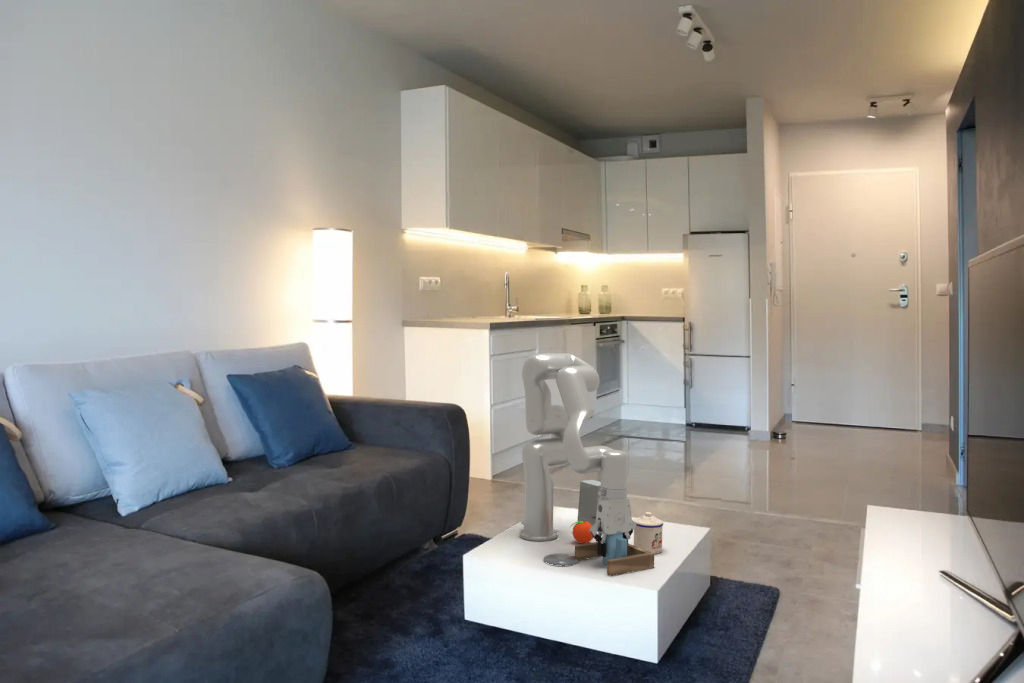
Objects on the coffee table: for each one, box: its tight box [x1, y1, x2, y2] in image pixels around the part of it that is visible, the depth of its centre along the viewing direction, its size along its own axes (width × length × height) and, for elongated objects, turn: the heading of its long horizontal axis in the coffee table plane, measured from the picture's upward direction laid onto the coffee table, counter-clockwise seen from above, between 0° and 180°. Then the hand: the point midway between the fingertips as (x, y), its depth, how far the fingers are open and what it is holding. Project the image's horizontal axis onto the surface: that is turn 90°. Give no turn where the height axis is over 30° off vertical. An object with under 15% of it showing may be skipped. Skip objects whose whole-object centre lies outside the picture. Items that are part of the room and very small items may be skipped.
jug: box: [602, 531, 627, 567], centre depth 216 cm, size 8×6×10 cm
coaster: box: [543, 553, 579, 567], centre depth 219 cm, size 10×10×1 cm
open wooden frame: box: [574, 541, 655, 576], centre depth 217 cm, size 17×16×4 cm
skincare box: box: [576, 479, 601, 526], centre depth 255 cm, size 8×7×16 cm
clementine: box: [569, 521, 594, 544], centre depth 237 cm, size 8×7×7 cm
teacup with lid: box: [633, 511, 664, 555], centre depth 232 cm, size 12×9×12 cm
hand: (612, 553), depth 217 cm, fingers open, 7 cm apart
